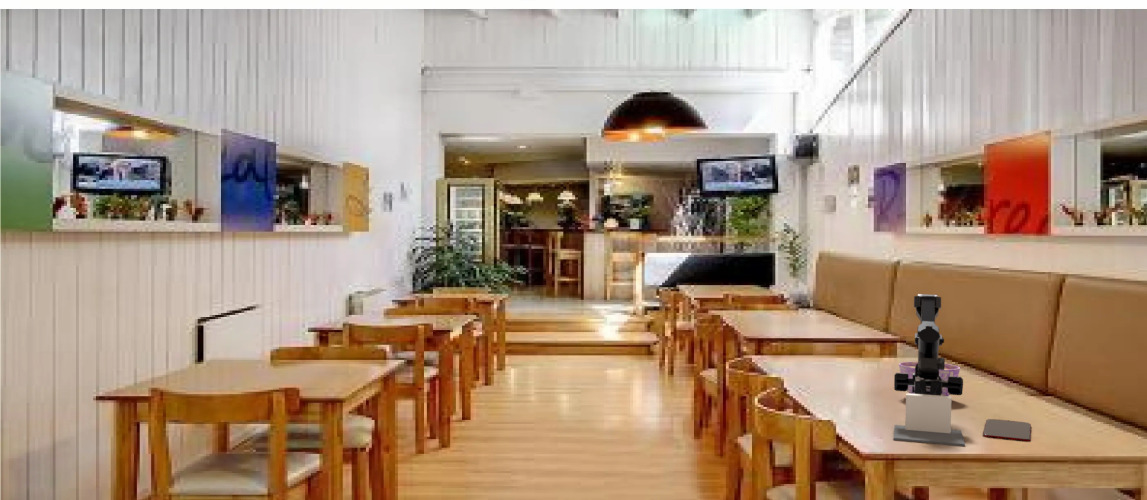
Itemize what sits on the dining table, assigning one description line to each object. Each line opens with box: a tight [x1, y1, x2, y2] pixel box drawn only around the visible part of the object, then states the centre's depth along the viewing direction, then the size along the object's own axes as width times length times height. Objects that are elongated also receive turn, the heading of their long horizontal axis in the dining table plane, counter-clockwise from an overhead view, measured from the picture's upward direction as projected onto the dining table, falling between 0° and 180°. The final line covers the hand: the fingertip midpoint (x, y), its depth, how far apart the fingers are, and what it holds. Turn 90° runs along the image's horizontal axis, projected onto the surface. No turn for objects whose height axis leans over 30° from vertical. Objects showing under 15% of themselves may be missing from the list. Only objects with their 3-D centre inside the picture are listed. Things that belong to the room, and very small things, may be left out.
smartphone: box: [982, 418, 1032, 443], centre depth 262 cm, size 12×2×25 cm
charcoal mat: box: [892, 424, 966, 447], centre depth 253 cm, size 19×18×1 cm
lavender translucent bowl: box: [898, 361, 961, 396], centre depth 315 cm, size 20×20×12 cm
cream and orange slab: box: [904, 392, 952, 433], centre depth 258 cm, size 3×12×10 cm, turn 70°
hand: (928, 407), depth 260 cm, fingers closed
